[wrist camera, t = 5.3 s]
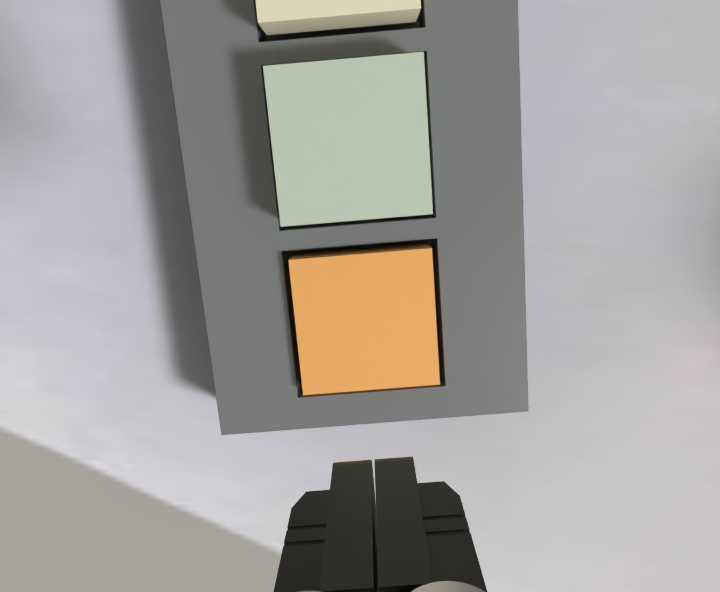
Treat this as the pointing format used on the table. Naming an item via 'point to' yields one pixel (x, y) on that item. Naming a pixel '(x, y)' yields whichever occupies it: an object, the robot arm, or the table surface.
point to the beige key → (332, 14)
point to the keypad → (277, 244)
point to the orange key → (365, 318)
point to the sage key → (350, 138)
